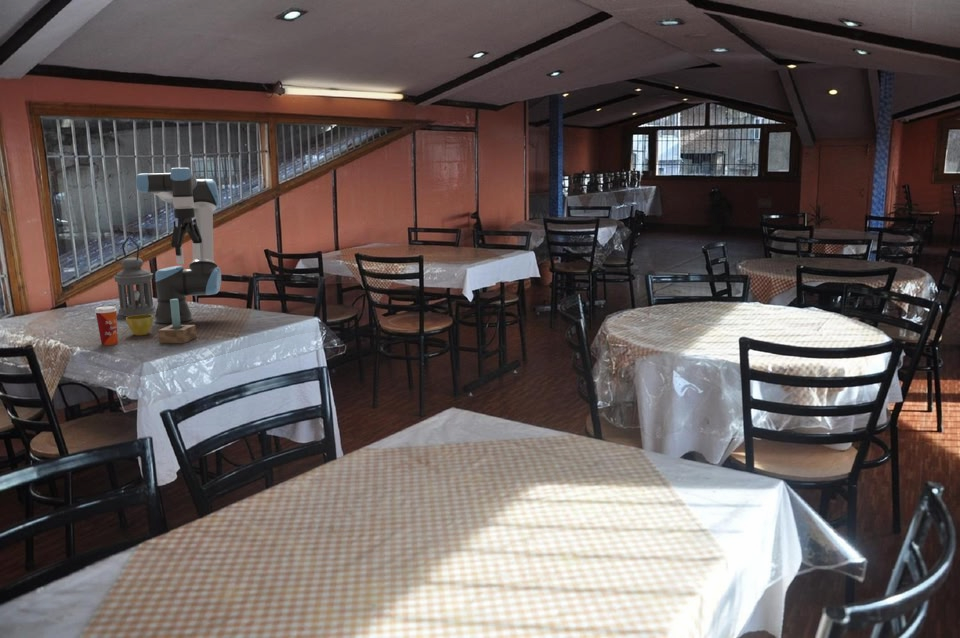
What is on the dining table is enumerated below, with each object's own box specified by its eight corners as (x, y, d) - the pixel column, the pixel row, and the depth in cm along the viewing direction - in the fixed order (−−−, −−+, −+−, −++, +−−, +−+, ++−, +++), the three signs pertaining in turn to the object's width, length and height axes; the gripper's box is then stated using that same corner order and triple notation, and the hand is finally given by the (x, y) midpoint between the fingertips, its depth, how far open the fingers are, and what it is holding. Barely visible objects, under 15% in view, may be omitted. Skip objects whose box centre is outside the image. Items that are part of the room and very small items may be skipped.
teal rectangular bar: (176, 339, 307) (172, 298, 304) (183, 339, 307) (179, 298, 304) (172, 341, 304) (168, 300, 301) (179, 341, 304) (175, 300, 301)
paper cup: (112, 346, 297) (108, 309, 295) (94, 345, 299) (89, 309, 296) (125, 341, 305) (121, 306, 302) (107, 341, 306) (103, 305, 304)
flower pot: (141, 330, 324) (139, 313, 323) (160, 332, 321) (158, 315, 319) (122, 336, 315) (120, 318, 314) (141, 337, 312) (139, 319, 310)
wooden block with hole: (172, 337, 311) (171, 324, 310) (196, 337, 310) (195, 324, 309) (159, 342, 301) (158, 330, 300) (184, 343, 300) (182, 330, 299)
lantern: (164, 309, 371) (157, 235, 364) (141, 316, 355) (133, 238, 348) (133, 308, 375) (125, 235, 368) (109, 315, 359) (100, 238, 353)
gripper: (190, 206, 322) (194, 257, 326) (158, 209, 298) (163, 265, 302) (207, 205, 321) (212, 257, 325) (177, 209, 297) (182, 265, 301)
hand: (188, 261), depth 314 cm, fingers open, 13 cm apart
